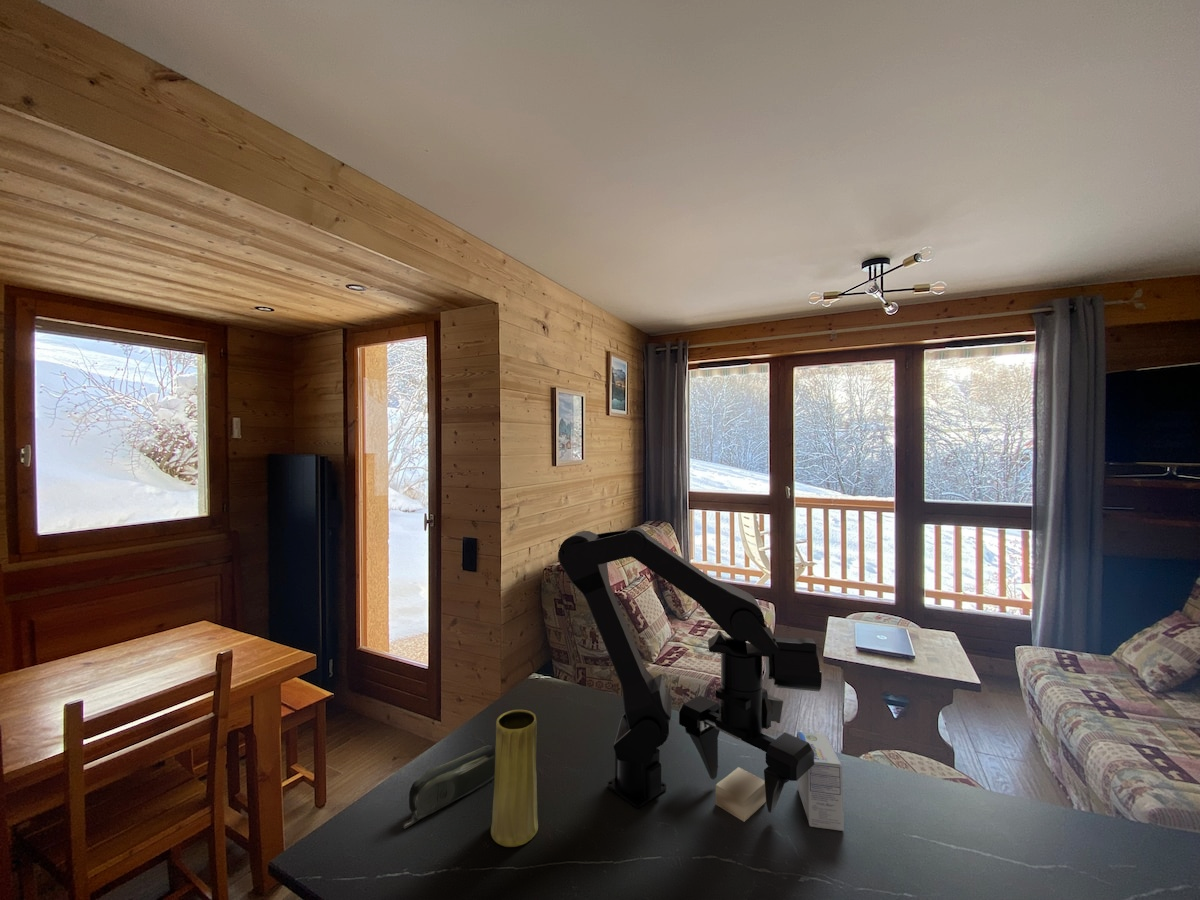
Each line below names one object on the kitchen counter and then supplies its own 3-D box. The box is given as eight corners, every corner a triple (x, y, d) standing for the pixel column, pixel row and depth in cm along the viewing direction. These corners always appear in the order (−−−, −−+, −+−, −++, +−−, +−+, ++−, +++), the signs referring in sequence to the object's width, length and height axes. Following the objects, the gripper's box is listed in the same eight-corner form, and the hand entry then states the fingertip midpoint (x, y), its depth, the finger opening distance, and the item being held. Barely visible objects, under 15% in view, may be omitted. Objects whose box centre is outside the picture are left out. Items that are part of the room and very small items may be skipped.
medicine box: (844, 833, 63) (844, 765, 63) (808, 827, 64) (807, 761, 64) (828, 793, 71) (828, 733, 71) (796, 789, 72) (796, 730, 72)
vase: (545, 819, 65) (547, 712, 65) (524, 854, 59) (526, 735, 60) (506, 808, 67) (507, 704, 67) (481, 840, 61) (483, 726, 62)
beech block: (715, 806, 68) (715, 784, 68) (738, 787, 72) (738, 767, 72) (744, 823, 65) (744, 801, 65) (766, 803, 69) (766, 781, 69)
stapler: (489, 738, 76) (397, 783, 64) (501, 746, 74) (409, 793, 63) (487, 771, 76) (395, 822, 64) (499, 779, 74) (407, 833, 62)
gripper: (831, 688, 68) (831, 802, 67) (717, 650, 82) (717, 744, 81) (794, 715, 60) (794, 843, 60) (676, 668, 74) (675, 771, 74)
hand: (741, 793), depth 69 cm, fingers open, 9 cm apart
